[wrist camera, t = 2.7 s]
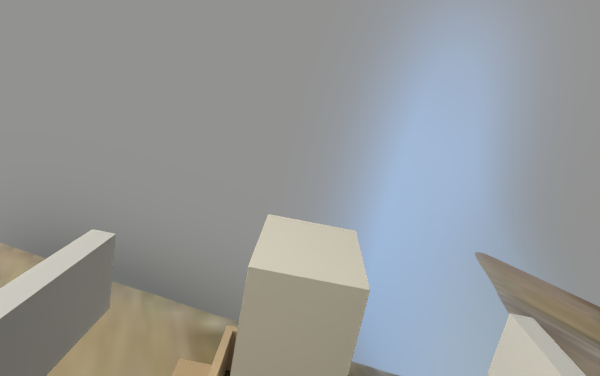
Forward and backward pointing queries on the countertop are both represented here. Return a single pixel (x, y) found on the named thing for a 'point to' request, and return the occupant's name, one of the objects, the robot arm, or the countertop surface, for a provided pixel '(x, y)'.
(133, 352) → the countertop surface
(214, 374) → the carton
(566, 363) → the robot arm
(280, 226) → the box
